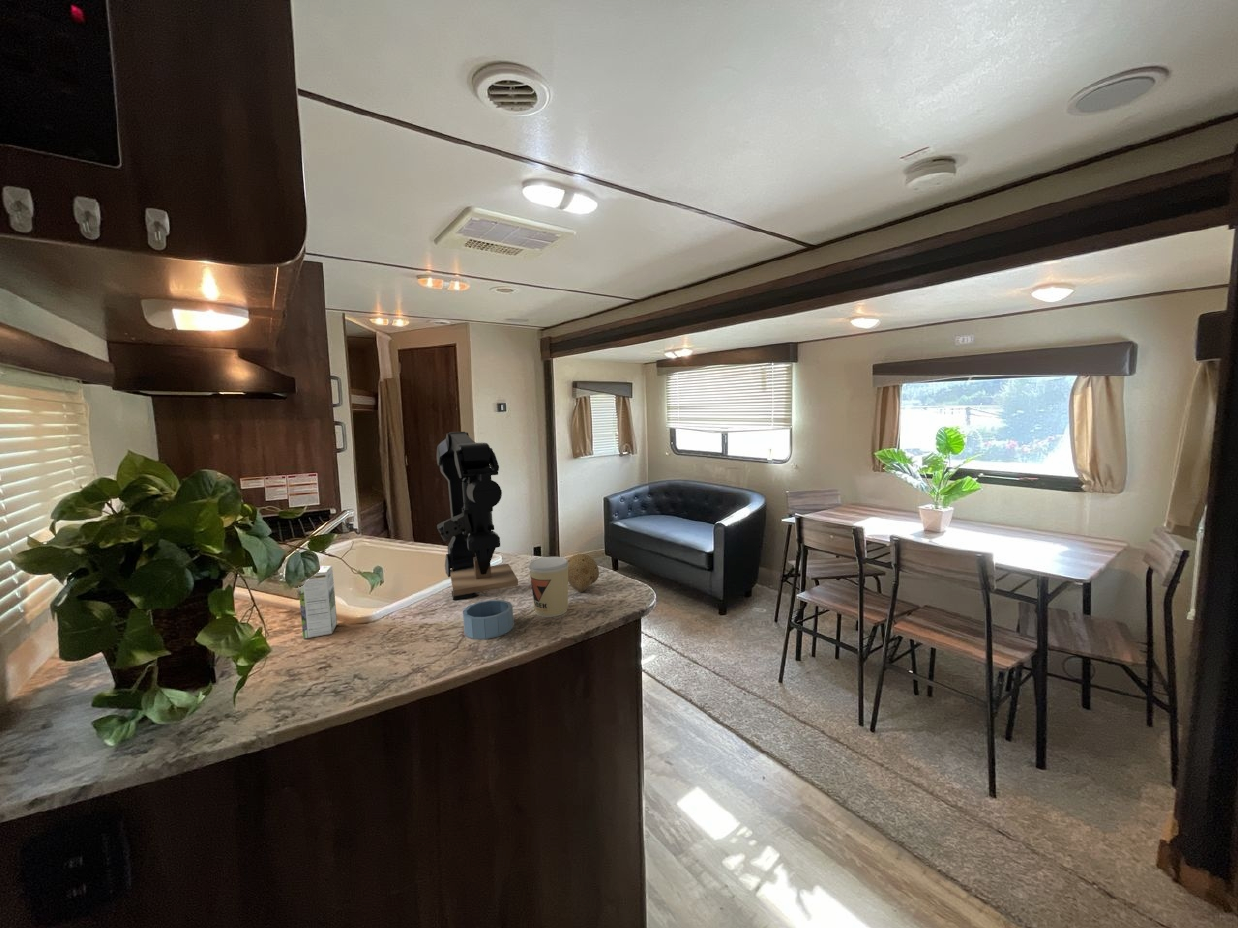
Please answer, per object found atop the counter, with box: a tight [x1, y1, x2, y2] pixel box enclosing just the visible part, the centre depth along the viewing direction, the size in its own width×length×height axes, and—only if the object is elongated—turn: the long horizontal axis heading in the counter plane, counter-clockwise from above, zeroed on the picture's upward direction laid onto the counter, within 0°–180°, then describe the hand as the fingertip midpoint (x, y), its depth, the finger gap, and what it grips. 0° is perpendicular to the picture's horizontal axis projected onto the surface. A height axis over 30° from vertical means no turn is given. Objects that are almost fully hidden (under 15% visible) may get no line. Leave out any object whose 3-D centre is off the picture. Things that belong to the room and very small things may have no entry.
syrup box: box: [298, 565, 338, 639], centre depth 108 cm, size 6×6×14 cm
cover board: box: [450, 557, 519, 596], centre depth 105 cm, size 13×13×5 cm
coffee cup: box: [528, 556, 569, 618], centre depth 114 cm, size 9×9×12 cm
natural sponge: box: [567, 553, 600, 593], centre depth 127 cm, size 9×9×10 cm
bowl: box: [462, 599, 515, 640], centre depth 106 cm, size 10×10×4 cm
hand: (482, 571), depth 105 cm, fingers closed on cover board, 3 cm apart
